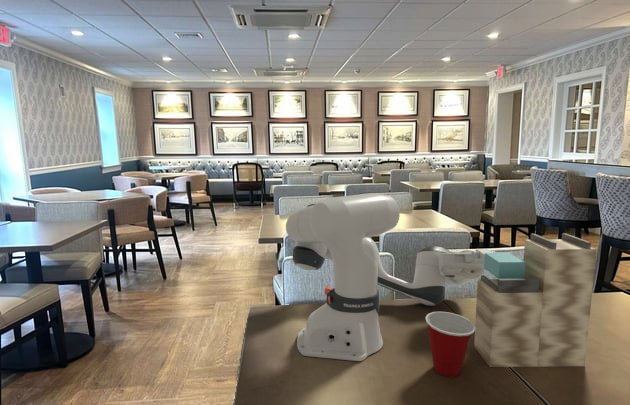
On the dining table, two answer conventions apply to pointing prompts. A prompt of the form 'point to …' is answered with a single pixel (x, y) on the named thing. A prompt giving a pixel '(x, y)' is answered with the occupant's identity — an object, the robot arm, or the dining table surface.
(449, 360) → the plastic cup
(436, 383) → the dining table surface
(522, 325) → the zigzag stepped block
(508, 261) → the plug
